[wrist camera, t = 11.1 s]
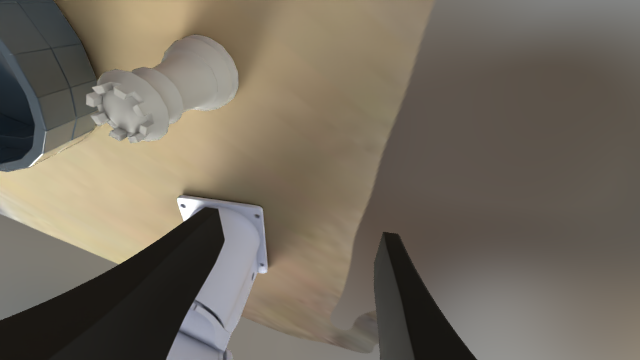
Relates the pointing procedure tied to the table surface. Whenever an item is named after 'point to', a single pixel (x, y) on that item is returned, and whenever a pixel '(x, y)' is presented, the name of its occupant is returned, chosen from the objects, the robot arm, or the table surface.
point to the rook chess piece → (165, 89)
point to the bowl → (41, 84)
